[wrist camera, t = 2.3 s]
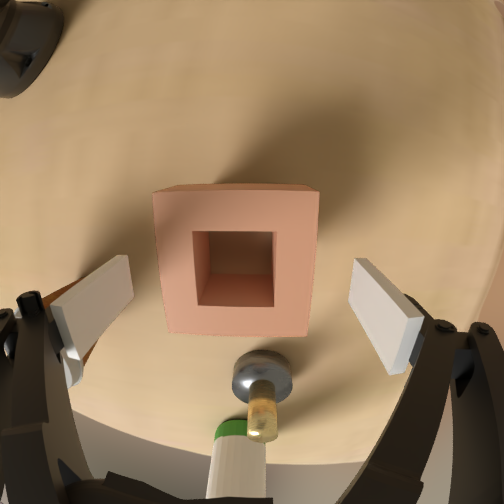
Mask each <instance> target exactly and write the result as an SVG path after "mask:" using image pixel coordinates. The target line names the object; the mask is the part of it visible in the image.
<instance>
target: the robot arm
mask: <svg viewBox="0 0 504 504" xmlns="http://www.w3.org/2000/svg"><path fill="white" fill-rule="evenodd" d="M63 22H64V16H63V12H62V10H61V9H60V8H59V7H57V6H55V5H53V4H52V3H48V2H19V1H15V0H0V98H13V97H15V96H17V95H19V94H20V93H22V92H23V91H24V90H25V89H26V88H27V87H28V86H29V85H30V84H31V83H32V82H33V81H34V80H35V78H36V77H37V76H38V75H39V73H40V72H41V70H42V69H43V68H44V66H45V64H46V63H47V61H48V60H49V58H50V56H51V54H52V52H53V51H54V49H55V47H56V44H57V42H58V40H59V37H60V34H61V31H62V27H63ZM133 298H134V291H133V286H132V280H131V273H130V267H129V260H128V255H116V256H115V257H113V258H112V259H111V260H109V261H108V262H106V263H105V264H103V265H102V266H101V267H99V268H98V269H96V270H95V271H94V272H92V273H91V274H89V275H88V276H87V277H85V278H84V279H82V280H81V281H80V282H78V283H77V284H76V285H74V286H73V287H72V288H70V289H69V290H68V291H66V292H65V293H64V294H62V295H61V296H60V297H59V298H57V299H56V300H55V301H53V302H52V303H51V304H50V306H48V307H47V308H46V309H45V308H44V305H43V302H42V298H41V295H40V292H39V291H29V292H25V293H23V294H21V295H20V296H19V297H18V298H17V299H16V301H17V304H18V307H19V310H20V313H21V316H22V318H15V315H14V313H13V310H12V309H10V308H6V309H1V310H0V501H1V497H2V494H3V489H4V484H5V485H6V492H7V497H8V502H9V504H273V498H249V497H230V496H228V497H219V498H209V499H194V500H183V499H179V498H176V497H174V496H172V495H170V494H167V493H165V492H163V491H161V490H159V489H156V488H154V487H152V486H150V485H148V484H146V483H144V482H142V481H138V480H134V479H131V478H128V477H125V476H121V475H118V474H115V473H113V472H110V471H108V473H107V475H106V478H105V479H94V477H93V476H92V474H91V472H90V470H89V468H88V465H87V462H86V460H85V456H84V453H83V450H82V447H81V444H80V441H79V437H78V433H77V429H76V426H75V422H74V418H73V413H72V409H71V404H70V399H69V394H68V389H67V383H66V377H65V370H64V363H63V357H62V355H61V352H60V351H61V350H62V349H63V348H64V347H65V350H66V352H67V355H68V357H69V358H73V359H77V360H80V361H81V359H82V358H83V357H84V356H85V354H86V353H87V352H88V351H89V349H90V348H91V347H92V346H93V345H94V343H95V342H96V341H97V340H98V338H99V337H100V336H101V335H102V334H103V333H104V331H105V330H106V329H107V328H108V327H109V325H110V324H111V323H112V322H113V321H114V320H115V318H116V317H117V316H118V315H119V314H120V313H121V312H122V310H123V309H124V308H125V307H126V306H127V305H128V304H129V302H130V301H131V300H132V299H133ZM348 303H349V304H350V306H351V308H352V309H353V311H354V313H355V315H356V316H357V318H358V320H359V322H360V323H361V325H362V327H363V329H364V330H365V332H366V334H367V336H368V337H369V339H370V341H371V343H372V345H373V346H374V348H375V350H376V352H377V354H378V356H379V357H380V359H381V361H382V363H383V365H384V367H385V369H386V371H387V372H388V374H389V375H394V374H399V373H404V372H405V370H406V367H407V365H408V362H410V364H411V365H412V367H413V368H412V370H411V373H410V375H409V377H408V380H407V382H406V384H405V386H404V389H403V392H402V394H401V396H400V398H399V401H398V403H397V405H396V407H395V409H394V411H393V413H392V415H391V417H390V419H389V421H388V423H387V425H386V427H385V429H384V430H383V432H382V434H381V436H380V438H379V439H378V441H377V443H376V445H375V446H374V448H373V450H372V451H371V453H370V455H369V456H368V458H367V459H366V461H365V463H364V464H363V466H362V467H361V469H360V470H359V472H358V473H357V475H356V476H355V478H354V479H353V480H352V482H351V483H350V485H349V486H348V487H347V489H346V490H345V492H344V493H343V494H342V496H341V497H340V498H339V499H338V501H337V502H336V503H335V504H416V503H417V501H418V499H419V497H420V495H421V492H422V489H423V484H424V483H423V482H421V481H420V479H421V476H422V473H423V471H424V468H425V466H426V463H427V461H428V458H429V455H430V453H431V450H432V447H433V444H434V441H435V438H436V435H437V432H438V429H439V425H440V422H441V418H442V415H443V411H444V406H445V403H446V399H447V394H448V389H449V385H450V390H451V401H452V416H453V465H452V478H451V489H450V496H449V503H448V504H504V351H503V349H502V346H501V344H500V342H499V339H498V337H497V335H496V333H495V331H494V330H493V328H492V327H490V326H489V325H488V324H486V323H481V322H474V323H472V324H471V326H470V329H469V332H468V333H467V332H457V328H456V327H455V326H454V325H453V324H452V323H450V322H448V321H445V320H440V319H435V320H434V319H433V318H432V317H431V316H430V315H429V314H428V313H427V311H426V310H425V309H423V307H422V306H421V305H419V303H418V302H417V301H416V300H415V299H414V298H412V297H410V296H408V295H406V294H403V293H402V292H401V291H400V290H399V289H398V288H397V287H396V286H395V285H394V284H393V283H392V282H391V281H390V280H389V279H387V278H386V277H385V276H384V275H383V274H382V273H381V272H380V271H379V270H378V269H377V268H376V267H375V266H374V265H373V264H372V263H371V262H370V261H369V260H368V259H367V258H354V264H353V272H352V279H351V286H350V292H349V299H348ZM4 348H5V350H6V352H7V354H8V355H7V356H6V354H5V351H4ZM0 504H3V503H2V502H0Z"/></svg>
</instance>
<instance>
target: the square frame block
mask: <svg viewBox="0 0 504 504" xmlns="http://www.w3.org/2000/svg"><path fill="white" fill-rule="evenodd" d="M152 198H153V214H154V227H155V238H156V248H157V257H158V266H159V274H160V281H161V288H162V295H163V302H164V308H165V314H166V320H167V326H168V331H169V333H181V334H195V335H213V336H240V337H302V336H307V333H308V325H309V317H310V308H311V299H312V290H313V280H314V269H315V257H316V244H317V230H318V213H319V191H317V190H315V189H313V188H310V187H308V186H306V185H301V184H252V183H241V184H192V185H176V186H173V187H170V188H166V189H163V190H159V191H156V192H153V193H152ZM209 231H272V257H271V274H211V266H210V247H209Z"/></svg>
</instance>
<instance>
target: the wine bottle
mask: <svg viewBox="0 0 504 504" xmlns="http://www.w3.org/2000/svg"><path fill="white" fill-rule="evenodd" d="M247 424H248V421H247V420H230V421H226V422H224V423H222V424H221V425H220V426H219V427H218V428H217V430H216V433H215V439H214V444H213V451H212V458H211V466H210V472H209V479H208V486H207V494H206V499H209V498H219V497H228V496H230V497H249V498H266V447H265V443H258V442H253V441H251V440H249V439H248V437H247Z"/></svg>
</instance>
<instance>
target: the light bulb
mask: <svg viewBox="0 0 504 504" xmlns="http://www.w3.org/2000/svg"><path fill="white" fill-rule="evenodd" d="M292 386H293V385H292V377H291V369H290V365H289V362H288V361H287V359H286V358H285V357H284V356H282V355H280V354H279V353H276V352H273V351H268V350H257V351H252V352H249V353H247V354H244V355H243V356H241V357H240V358H239V359H238V360H237V362H236V363H235V366H234V372H233V381H232V390H233V393H234V394H235V396H236V397H237V398H238V399H240V400H241V401H243V402H245V403H247V404H248V424H247V437H248V439H249V440H251V441H253V442H258V443H266V442H271V441H273V440H275V439H276V438H277V437H278V429H277V410H276V403H279V402H281V401H283V400H284V399H285V398H287V397H288V396H289V394H290V393H291V391H292Z"/></svg>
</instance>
